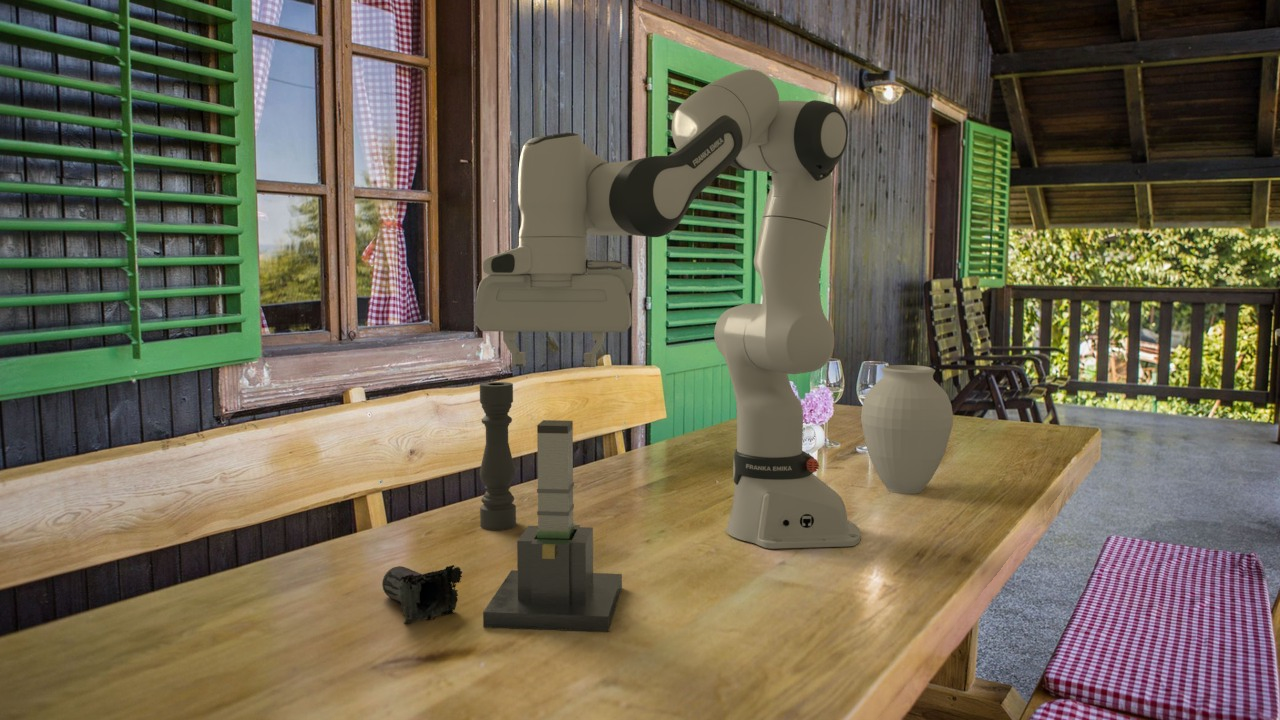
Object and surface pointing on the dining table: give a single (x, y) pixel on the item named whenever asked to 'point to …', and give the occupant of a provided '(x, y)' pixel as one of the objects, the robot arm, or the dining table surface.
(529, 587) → the stand
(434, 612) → the dark flanged cylinder
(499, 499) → the candle holder
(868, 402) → the vase
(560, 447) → the column
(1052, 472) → the dining table surface
